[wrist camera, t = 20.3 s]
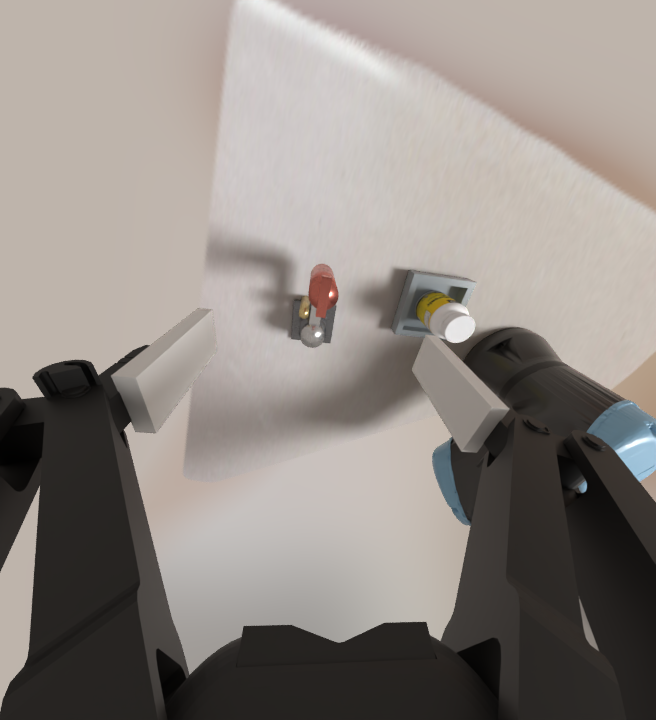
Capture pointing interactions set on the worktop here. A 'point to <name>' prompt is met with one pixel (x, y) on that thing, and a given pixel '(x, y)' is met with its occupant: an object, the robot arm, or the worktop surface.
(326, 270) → the crank
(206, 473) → the worktop surface
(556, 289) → the worktop surface
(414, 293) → the tray
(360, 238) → the worktop surface
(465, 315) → the supplement bottle
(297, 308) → the crank pedestal
